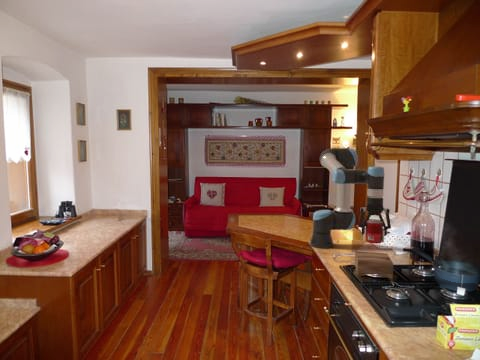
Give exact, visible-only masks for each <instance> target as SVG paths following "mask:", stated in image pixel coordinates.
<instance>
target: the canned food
mask: <svg viewBox="0 0 480 360" xmlns="http://www.w3.org/2000/svg"><path fill="white" fill-rule="evenodd" d="M365 228H366V241H365V242H367V243H369V244H381V243H383V242H382V234H383V229H384V227H383V221H381V220H380V219H376V218H369V220H368V221H367V224H366V226H365Z"/></svg>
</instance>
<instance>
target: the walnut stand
mask: <svg viewBox="0 0 480 360" xmlns="http://www.w3.org/2000/svg"><path fill="white" fill-rule="evenodd" d="M354 267H356V268H355V272H356V271H357V272H356V274H357V275H356V276H357V277H361V276H362V275H364V274H378V275H381V276H385V277H387V278H389V279H388V280H393V279H394V278H393V277H394V262H393V260H392V259H391V258H390V256H389V254H388V253H384V252H383V253H382V252H371V251H369V252H368V251H357V250H356V251H354Z"/></svg>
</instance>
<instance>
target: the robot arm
mask: <svg viewBox="0 0 480 360" xmlns="http://www.w3.org/2000/svg"><path fill="white" fill-rule="evenodd" d="M357 153H358V152H357V150H355V149H354V148H351V147H350V148H348V147H347V148H344V147H343V148H338V147H337V148H328V149H325V150H324V151H322V152H321V154H320V156H319V163H320V165H321V166H322V167H324V168H326V169H327V170H328V171H329V172H330V173H331V180H332V183H333V184H335V185H336V184H337V185H336V187H337V188H336V207H335V208H334V209H333V212H332V210H330V209H319V210H315V212H313V216H312V234H311V238H310V241H309V245H310V246H311V247H313V248H317V249H330V248H333V247H334V242H333V237H332V235H331V234H332V233H331V232H332V231H350V230H352V229H354V227H355V224H356V214H355V213H354V212H353V209H351V193H352V188H351V187H352V184H353V185H358V184H359V185H361V184H363V185H367V189H366V190H367V192H366V193H367V195H366V196H367V198H366V206H365V207H360V209H359V210H360V215H359V217H358V218H359V219H358V224H357V225H358V227H359V228H361V235H363V241H364V242H366V224H367V221H368V220H369V219H371V217H372V216H377V217H379V220H381V221H383V234H382V243H385V237H386V236H387V232H388V230H390V229H392V227H391V225H392V224H391V219H390V209H389V207H388V208H385V207H384V198H383V197H384V190H385V189H384V187H385V186H384V185H385V184H384V183H385V168H384V167H383V166H369V167H368V169H355V167H357V166H358V163H359V157H358V154H357ZM365 211H367V215H366V217H365V218H364V213H365ZM383 212H384V214H385V219H386V223H385V220H384V218H383V215H382V213H383ZM363 219H364V221H363ZM362 222H363V223H362Z"/></svg>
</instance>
